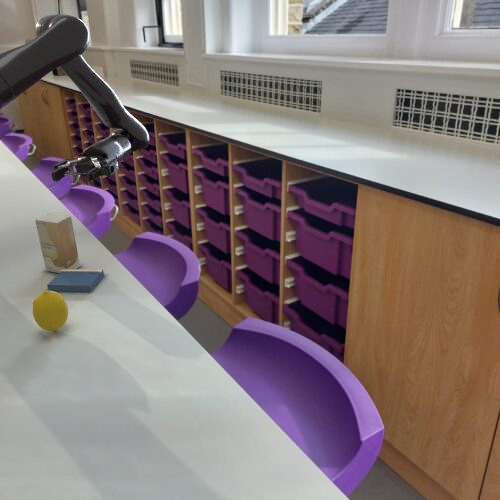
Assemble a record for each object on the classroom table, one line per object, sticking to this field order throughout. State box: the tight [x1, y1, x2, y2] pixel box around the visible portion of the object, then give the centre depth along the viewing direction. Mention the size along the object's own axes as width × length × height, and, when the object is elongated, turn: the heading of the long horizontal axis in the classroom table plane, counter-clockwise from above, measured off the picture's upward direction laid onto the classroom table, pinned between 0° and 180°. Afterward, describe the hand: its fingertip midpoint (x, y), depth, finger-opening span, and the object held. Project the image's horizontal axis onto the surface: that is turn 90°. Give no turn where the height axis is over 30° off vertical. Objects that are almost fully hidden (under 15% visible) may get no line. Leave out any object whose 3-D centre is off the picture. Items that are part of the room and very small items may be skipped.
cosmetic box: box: [34, 212, 81, 274], centre depth 105 cm, size 6×4×12 cm
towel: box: [46, 268, 105, 293], centre depth 101 cm, size 9×7×2 cm
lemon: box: [32, 289, 69, 332], centre depth 83 cm, size 6×6×8 cm
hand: (71, 177), depth 109 cm, fingers open, 8 cm apart
